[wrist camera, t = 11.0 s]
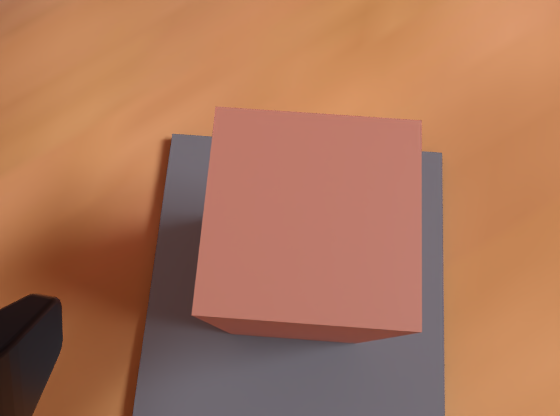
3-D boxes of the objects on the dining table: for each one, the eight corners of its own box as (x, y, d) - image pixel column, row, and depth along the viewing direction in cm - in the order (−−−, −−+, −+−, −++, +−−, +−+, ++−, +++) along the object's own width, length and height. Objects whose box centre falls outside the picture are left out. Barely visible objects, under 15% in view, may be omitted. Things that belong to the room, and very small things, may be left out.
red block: (355, 343, 21) (421, 332, 11) (231, 334, 21) (191, 315, 11) (359, 222, 22) (421, 120, 13) (242, 214, 22) (215, 106, 13)
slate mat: (440, 444, 20) (445, 446, 20) (134, 420, 21) (131, 421, 20) (438, 157, 24) (442, 152, 23) (174, 138, 24) (172, 133, 23)
